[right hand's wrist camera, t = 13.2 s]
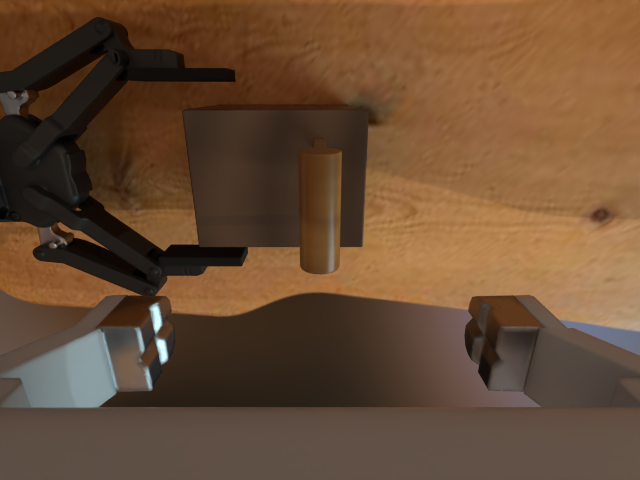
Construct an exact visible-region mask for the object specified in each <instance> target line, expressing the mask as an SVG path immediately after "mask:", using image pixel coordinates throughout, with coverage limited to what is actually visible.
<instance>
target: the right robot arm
mask: <svg viewBox="0 0 640 480" xmlns="http://www.w3.org/2000/svg"><path fill="white" fill-rule="evenodd" d="M171 311H172V310H171V305H170V300H169V299H168V298H167V297H166V296H133V295H130V296H128V295H112V296H106V297H105V298H104V299H103V300H102V301H101V302H100V303H99V304H98V305H97V306H96V307H95V308H94V309H92V310H91V311H90V312H89V313H88V314H87V315H86V316H85V317H84V318H83V319H82V320H81V321H80V322H79V323H78V324H77V325H75V326H74V327H73V328H66V329H63V330H61V331H59V332H56V333H54V334H51V335H49V336H47V337H44V338H42V339H39V340H37V341H35V342H32V343H30V344H27V345H25V346H22V347H20V348H18V349H15V350H13V351H10V352H8V353H6V354H3V355H1V356H0V480H640V356H639V355H637V354H634V353H632V352H629V351H627V350H625V349H622V348H620V347H617V346H615V345H613V344H610V343H608V342H605V341H603V340H601V339H598V338H596V337H593V336H591V335H588V334H586V333H584V332H581V331H579V330H577V329H574V328H567V327H566V326H565V325H564V324H562V323H561V322H560V321H559V320H558V319H557V318H556V317H555V316H554V315H553V314H552V313H551V312H550V311H549V310H548V309H547V308H545V307H544V306H543V305H542V304H541V303H540V302H539V301H538V300H537V299H536V298H535V297H534V296H531V295H516V296H513V295H511V296H476V297H472V299H471V301H470V304H469V310H468V311H469V313H470V314H471V316H472V317H473V318H472V319H471V320H470V321H469V322H468V324H467V325H466V329H465V346H466V349H467V352H468V355H469V357H470V358H471V360H472V361H474V362H475V363H477V364H478V365H479V370H478V373H479V374H480V376H481V378H482V380H483V381H484V383H485V385H486V386H487V388H488V390H489V391H520V392H524V394H525V395H527V396H528V397H529V398H531V399H532V400H533V401H535V402H536V403H537V404H539V405H540V406H541V407H99V406H100V405H101V404H103V403H104V402H105V401H107V400H108V399H109V398H111V397H112V396H113V395H115V394H116V392H120V391H151V390H152V388H153V387H154V385H155V383H156V381H157V380H158V378H159V376H160V374H161V373H162V369H161V365H162V364H163V363H165V362H166V361H168V360H169V358H170V356H171V355H172V353H173V349H174V345H175V328H174V325H173V324H172V323H171V322H170V320H169V319H168V318H167V317H168V316H169V314H170V313H171Z"/></svg>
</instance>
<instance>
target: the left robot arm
mask: <svg viewBox="0 0 640 480" xmlns="http://www.w3.org/2000/svg"><path fill="white" fill-rule="evenodd" d="M106 53H107V54H106ZM104 54H106V55H105V56H104V57H103V58H102V59H101V61H100V62H99V63H98V64H97V65H96V66H95V67H94V68H93V70H92V71H91V72H90V73H89V74H88V75H87V76H86V78H85V79H84V80H83V81H82V82H81V83H80V84H79V85H78V87H77V88H76V89H75V90H74V91H73V92H72V93H71V94H70V96H69V97H68V98H67V99H66V100H65V101H64V102H63V104H62V105H61V106H60V107H59V108H58V109H57V110H56V111H55V113H54V114H53V115H51V116H49V117H47V118H46V119H44V120H43V121H42V120H40V119H38V118H37V117H35V116H33V115H31V114H29V113H28V107H29V105H30V104H32V103H34V102H35V101H36V99H37V98H39V93H38V92H37V91H40V90H44V89H47V88H50V87H51V86H53V85H55V84H57V83H58V82H60V81H62V80H63V79H65V78H66V77H68V76H70V75H71V74H73V73H75V72H76V71H78V70H80V69H81V68H83V67H84V66H86V65H88V64H89V63H91V62H93V61H94V60H96V59H97V58H99V57H101V56H102V55H104ZM129 80H130V81H157V82H235V70H231V69H227V68H185V65H184V57H183V55H182V54H180V53H178V52H175V51H172V50H140V49H135V48H133V46H132V45H131V44H130V42H129V40H128V32H127V30H126V28H125V27H124V26H123V25H121V24H119V23H116V22H113V21H110V20H107V19H104V18H101V17H97V18H94V19H93V20H91V21H89V22H88V23H86V24H85V25H83V26H82V27H80V28H78V29H77V30H75V31H74V32H72V33H71V34H69V35H67V36H66V37H64V38H63V39H61V40H60V41H58V42H56V43H55V44H53V45H52V46H50V47H49V48H47V49H45V50H44V51H42V52H41V53H39V54H38V55H36V56H34V57H33V58H31V59H30V60H28V61H27V62H25V63H23V64H22V65H20V66H19V67H17V68H16V69H14V70H12V71H7V72H0V101H1V103H2V106H3V109H4V111H5V114H6V116H5V117H4V118H2V119H1V120H0V222H26V223H29V224H32V225H34V226H36V227H38V233H39V239H40V246H38V247H36V248H35V249H34V250H33V255H34V257H35V258H36V259H38V260H40V261H46V262H56V263H64V264H66V265H69V266H71V267H74V268H76V269H79V270H81V271H84V272H86V273H89V274H91V275H93V276H96V277H98V278H101V279H103V280H106V281H108V282H111V283H113V284H116V285H118V286H121V287H123V288H126V289H128V290H130V291H133V292H135V293H138V294H140V295H143V296H155V295H156V294H157V293H158V291H159V290H160V289H161V288H162V286H163V285H164V284H165V283H166V281H167V276H185V275H186V276H190V275H191V276H198V275H200V274H203V273H204V271H205V270H206V268H207V267H208V266H242V265H243V263H244V261H245V258H246V256H247V254H248V247H199V245H170V246H169V247H168V248H167V249H166V250H165V252H164V251H163V250H161V249H160V248H159V247H157V246H156V245H154V244H153V243H151V242H150V241H148V240H147V239H146V238H144V237H143V236H141V235H140V234H138V233H137V232H135V231H134V230H133V229H131V228H130V227H128V226H127V225H125V224H124V223H123V222H121V221H120V220H118V219H117V218H115V217H114V216H112V215H111V214H110V213H108V212H107V211H105V209H104V206H103V205H102V204H101V203H99V202H98V201H97V200H95V199H94V198H92V197H91V196H89V192H90V190H93V189H92V184H91V180H90V178H89V176H88V174H87V172H86V157H85V152H84V150H80V148H79V147H78V145H77V144H76V143H75V141H76V140H77V139H78V138H79V137H80V136H81V135H82V134H83V133H84V132H85V131H86V129H87V125H88V124H89V123H90V122H91V121H92V120H93V118H94V117H95V116H96V115H97V114H98V113H99V112H100V111H101V110H102V109H103V108H104V107H105V105H106V104H107V103H108V102H109V101H110V100H111V99H112V98H113V97H114V96H115V95H116V94H117V92H118V91H119V90H120V89H121V88H122V87H123V86H124V85H125V84H126V83H127V82H128V81H129ZM77 207H78V208H80V209H81V211H75V209H76V208H77ZM59 222H61V223H63V224H64V225H66V226H67V227H69V228H70V229H73V230H79V231H82V232H83V233H85V234H86V235H88V236H89V237H91V238H92V239H94V240H95V241H97V242H98V243H100V244H101V245H103V246H104V247H106V248H107V249H105V248H103V247H101V246H98V245H96V244H93V243H91V242H88V241H86V240H82V239H78V238H74V234H73V233H71V232H69V233H67V232H64V231H62V230H61V229H60V228H59V227H58V224H57V223H59ZM108 249H109V250H108Z"/></svg>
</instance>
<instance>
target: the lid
mask: <svg viewBox="0 0 640 480" xmlns="http://www.w3.org/2000/svg"><path fill="white" fill-rule="evenodd" d="M182 113H183V121H184V129H185V137H186V145H187V153H188V161H189V169H190V177H191V185H192V193H193V201H194V209H195V217H196V225H197V233H198V241H199V247H300V266H301V268H302V270H304V271H306V272H308V273H312V274H328V273H332V272H334V271H336V270H337V269H338V268H339V264H340V247H362V246H363V227H364V205H365V182H366V160H367V138H368V115H369V110H367V109H183V110H182Z"/></svg>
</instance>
